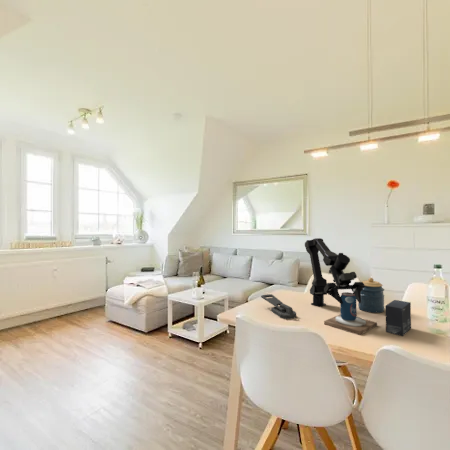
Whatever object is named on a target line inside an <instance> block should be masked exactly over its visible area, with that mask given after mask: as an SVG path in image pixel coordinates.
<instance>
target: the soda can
mask: <svg viewBox="0 0 450 450" xmlns="http://www.w3.org/2000/svg"><path fill="white" fill-rule="evenodd" d="M340 297H341V300H342V304H340V303H339V304H340V309H339V310H340V314H341V318H342V319H343V320H345V321H355V319H356V318H357V317H358V316H357V315H358V314H357V312H358V311H357V299H356V297H355V294H353V292H342V293H341V295H340Z"/></svg>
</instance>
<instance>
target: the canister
mask: <svg viewBox="0 0 450 450" xmlns="http://www.w3.org/2000/svg"><path fill="white" fill-rule="evenodd" d="M361 282H363V283H364V285H365V287H364V288H363V289H362V291H361V303H359V302H358V303H357V306H358V309H359V310H361V311H363V312H368V313H377V314H378V313H383V312H385V294H384V291H385V288H383V286H384V285H383V284H382V283H381V282H380V281H376V280H374V278H373V277H368V280H362V281H361Z"/></svg>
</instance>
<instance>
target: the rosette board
mask: <svg viewBox="0 0 450 450" xmlns="http://www.w3.org/2000/svg"><path fill="white" fill-rule="evenodd" d="M323 323H324V324H323V325H325V326H328V327H332V328H336V329H339V330H342V331H345V332H349V333H353V334H356V335H359V336H362V335H363V334H365V333H366V332H369V331H371V330H372V329H374V328H375V327H377V326H378V322H377V321H373V320H368V319H365V318H362V317H359V316H357V318H356V319H355V321H345V320H343V319H342V318H341V313H340V314H337V315H335V316H332V317H331V318H328V319H326V320H324V321H323Z"/></svg>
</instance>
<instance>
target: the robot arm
mask: <svg viewBox="0 0 450 450" xmlns="http://www.w3.org/2000/svg"><path fill="white" fill-rule="evenodd" d="M304 247H305V251H306V253H308V255H309V257H310V264H311V267H312V275H313V280H312V282H311V287H310V289H309V293H310V295H312V302H311V303H310V305H312V306H316V307H324V306H326V305H327V303H324V302H325V300H324V299H325V296H327V295H328V296H331V297H332V298H333V299H335V301H337V302H338V303H339V304H342V300H341V295H340V293H339V290H351V291H352V293H353V294H355V297H356V302H358V303H361V291H362V289H363V288H364V287H365V285H364V283H363V282H362V281H354V280H356V279H357V273H356V271H351V272H344V271H345V269H346V268H347V267H348V266H349V263H350V262H351V258H350V257H349V256H348V255H346V254H344V253H343V252H339V253H336V252H333V251H331V249H330V248H329V247H328V245H327V244H326V243H325V242H324V239H323V238H320V237H319V238H313V239H311V240H310V239H309V240H306V241H305V242H304ZM319 252H320V254H321V255H322V257H323V259H322V261H323V263H324V265H325V266H327V267H329V270H328V273H329V274H331V276H332V278H333V279H332V281H333V282H327V278H324V277H323V274H322V268H321V263H320V257H319ZM352 281H354V282H353V284H351V283H352Z"/></svg>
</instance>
